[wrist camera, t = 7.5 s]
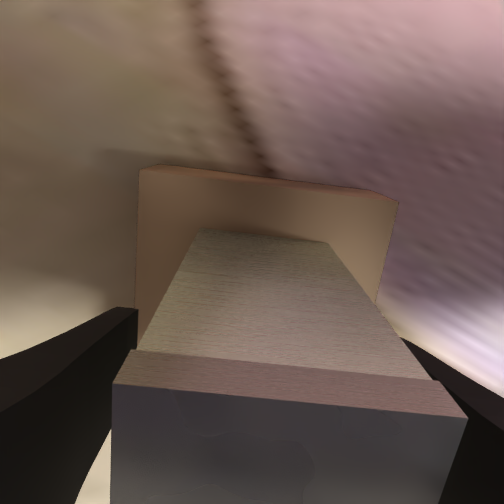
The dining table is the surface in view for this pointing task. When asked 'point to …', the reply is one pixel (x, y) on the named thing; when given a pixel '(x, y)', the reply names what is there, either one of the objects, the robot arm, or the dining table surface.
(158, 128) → the dining table surface
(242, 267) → the tea tin
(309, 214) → the tan flat square block
